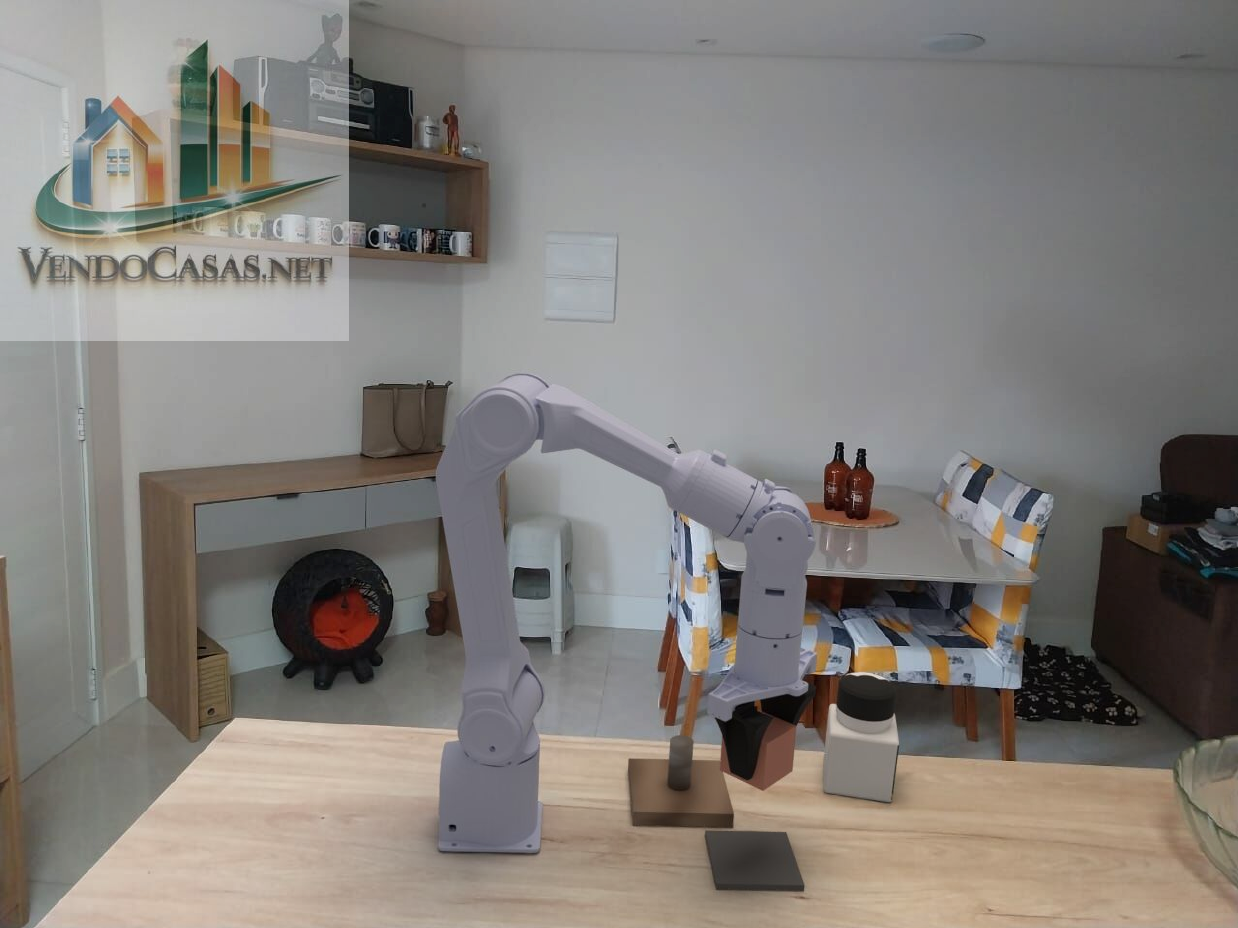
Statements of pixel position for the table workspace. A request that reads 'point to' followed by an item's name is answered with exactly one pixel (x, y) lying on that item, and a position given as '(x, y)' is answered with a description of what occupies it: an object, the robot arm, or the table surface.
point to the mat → (753, 861)
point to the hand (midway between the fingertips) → (757, 764)
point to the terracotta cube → (769, 755)
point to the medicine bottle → (862, 739)
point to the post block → (679, 789)
